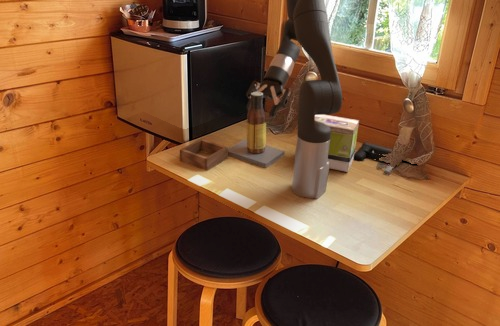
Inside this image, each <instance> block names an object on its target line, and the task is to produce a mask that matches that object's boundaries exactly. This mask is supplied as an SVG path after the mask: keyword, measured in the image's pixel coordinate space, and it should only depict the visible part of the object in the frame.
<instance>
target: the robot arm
mask: <svg viewBox="0 0 500 326" xmlns="http://www.w3.org/2000/svg"><path fill="white" fill-rule="evenodd" d="M286 12H287V18H288V19H287V20H286V21H285V23H284V26H283V31H282V35H281V36H282V38H281V42H280V45H279V47H278V49H277V52H276V54H275V55H274V57H273V58H272V60H271V62H270V64H269V66H268V68H267V70H266V73H265V75H264V77H263V80H262V82H261V83H260V82H258V81H256V80H253V81H252V82H251V84H250V86H249V88H248V90H247V91H246V93H245V95H246V97H247V98H248V102H247V103H246V106H245V107H246V110H247V112H248V111H249V109H250V108H251V93H252V92H261V93H263V99H269V100H271V101H272V100H273V102H274V104H273V105H272V107H271V108H270V109H271V110H269V113H268V116H269V118H272V119H273V118H274V117H276V116H277V114H278V111H279V109H281V108H283V109H285V108H287V105H288V102H289V100H290V98H291V95H292V92H291V90H290V88H286V89H285V87H286V85H287V83H288V81H289V79H290V76H291V75H292V72H293V69H294V67H295V63H296V62H297V60H298V59H299V58H298V57H299V55H300V54H301V49H300V47H301V48H302V50H303V51H305V52H306V54H307V55H308V56H309V57H310V59H311V60H312V61H313V63H314V64H315V66H316V68H317V70H318V73H319V76H320V79H313V80H312V79H310V80H309V79H308V80H305V81H303V82H302V83H301V85H300V87H299V90H298V103H297V104H298V106H297V107H298V108H297V121H296V122H297V123H296V124H297V136H296V144H295V145H296V146H295V155H294V164H293V171H292V172H293V173H292V184H291V190H292V192H293V193H294V194H296V195H297V196H300V197H301V198H302V197H303V198H309V199H315V200H316V199H319V198H321V196H322V195H323V194H324V193H326V191H327V187H328V186H327V184H328V178H329V170H330V168H329V165H330V162H328V161H327V160H328V152H329V145H330V138H331V129H330V127H329V126H328V125H326V124H324V123H321V122H318V121H315V115H322V114H324V115H333V114H337V113H339V112H340V111H341V109H342V108H343V107H342V106H343V90H342V87H341V86H342V85H341V82H340V78H339V74H338V70H337V66H336V61H335V57H334V53H333V47H332V41H331V34H330V25H329V20H328V19H329V18H328V14H327V9H326V3H325V0H286ZM293 41H297V42H298V43H299V45H300V47H299V45H298V44H297V43H295V42H293ZM280 95H282V96H281V97H282V98H281V101H280V98H279V96H280Z"/></svg>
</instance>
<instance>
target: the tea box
mask: <svg viewBox="0 0 500 326" xmlns="http://www.w3.org/2000/svg"><path fill="white" fill-rule="evenodd" d="M315 121H318V122H321V123H324V124H326V125H328V126H329V127H330V129H331V138H330V145H329V152H328V160H327V161H328V162H330V165H329V170H330V169H331V170H336V171H340V172H345V173H348V172H349V171H350V168H351V166H352V163H353V161H354V160H355V159H354V154H355V153H356V146H357V138H358V131H359V126H360V125H359V124H360V119H353V118H347V117H341V116H335V115H331V114H322V115H315Z"/></svg>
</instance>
